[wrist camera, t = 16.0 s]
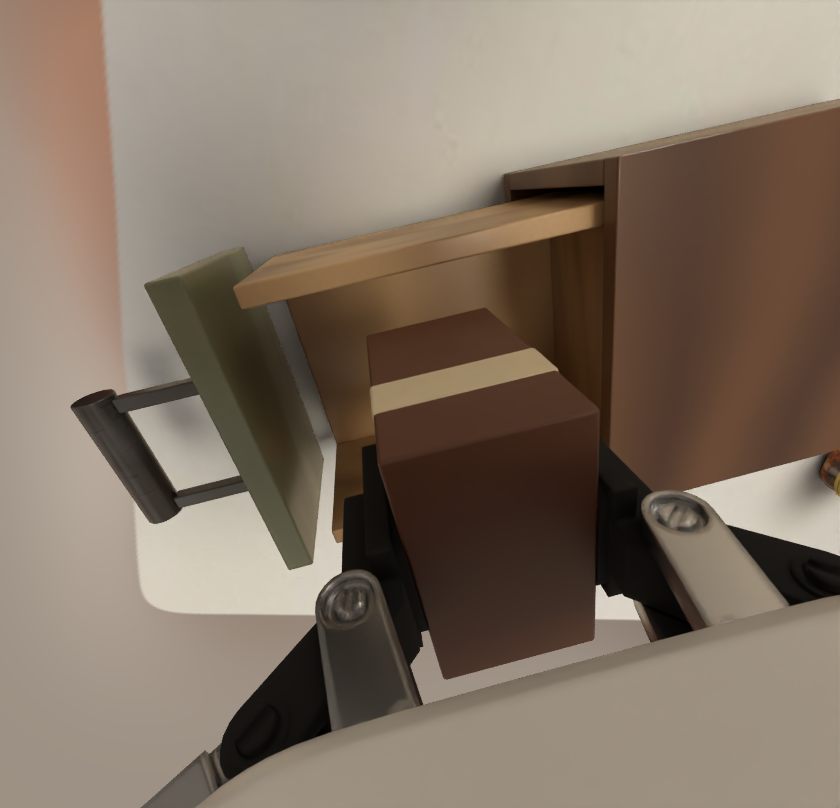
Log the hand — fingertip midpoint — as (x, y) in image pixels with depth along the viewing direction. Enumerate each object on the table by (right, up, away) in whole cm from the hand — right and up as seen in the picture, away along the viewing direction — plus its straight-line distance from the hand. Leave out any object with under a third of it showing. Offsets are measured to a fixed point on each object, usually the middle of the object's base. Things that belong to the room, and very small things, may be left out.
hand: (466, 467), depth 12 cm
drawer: (-4, +5, +12) cm, 14 cm away
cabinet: (+13, +10, +14) cm, 22 cm away
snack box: (-1, +2, +3) cm, 3 cm away
